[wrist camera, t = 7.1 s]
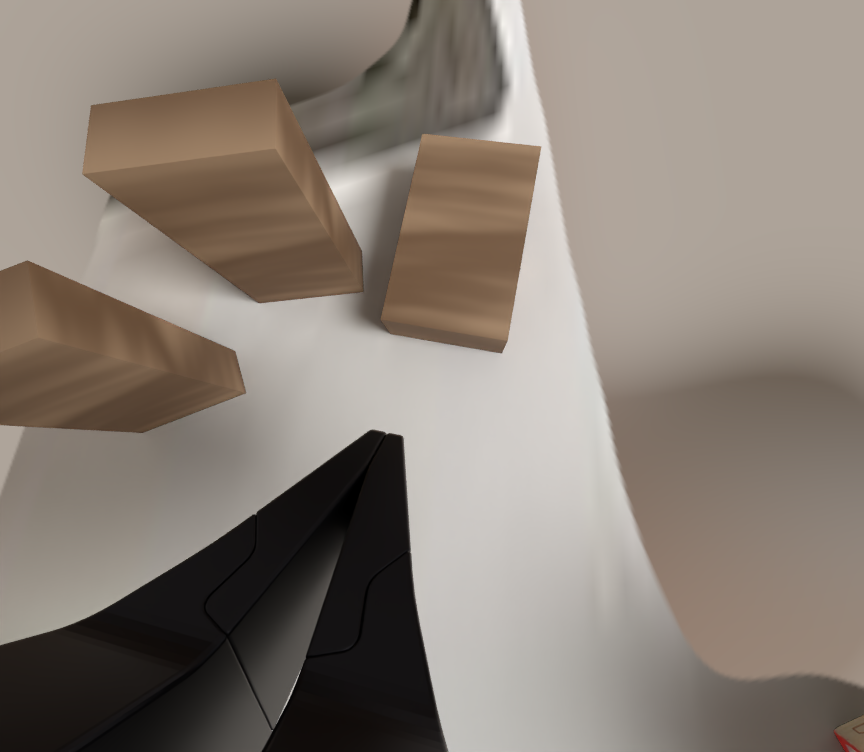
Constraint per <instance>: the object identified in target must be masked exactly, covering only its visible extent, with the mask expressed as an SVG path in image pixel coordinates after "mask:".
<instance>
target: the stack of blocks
mask: <svg viewBox="0 0 864 752" xmlns="http://www.w3.org/2000/svg"><path fill="white" fill-rule="evenodd" d="M834 733H835V735H836V737H837V738H838V740H839V742H840V744H841V745H842V747H843V749H844V750H845V752H864V715H863V716H860V717H858V718H856V719H854V720H852V721H850V722H848V723H845V724H843V725H841V726H839V727H837V728H836V729H835V730H834Z"/></svg>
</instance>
